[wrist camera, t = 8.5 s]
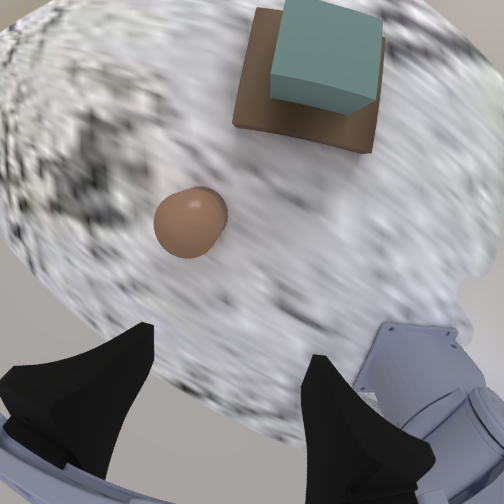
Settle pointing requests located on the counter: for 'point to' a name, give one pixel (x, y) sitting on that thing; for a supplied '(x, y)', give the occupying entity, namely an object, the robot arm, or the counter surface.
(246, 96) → the base
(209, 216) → the tan round knob
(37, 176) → the counter surface
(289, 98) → the cube
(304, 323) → the counter surface
